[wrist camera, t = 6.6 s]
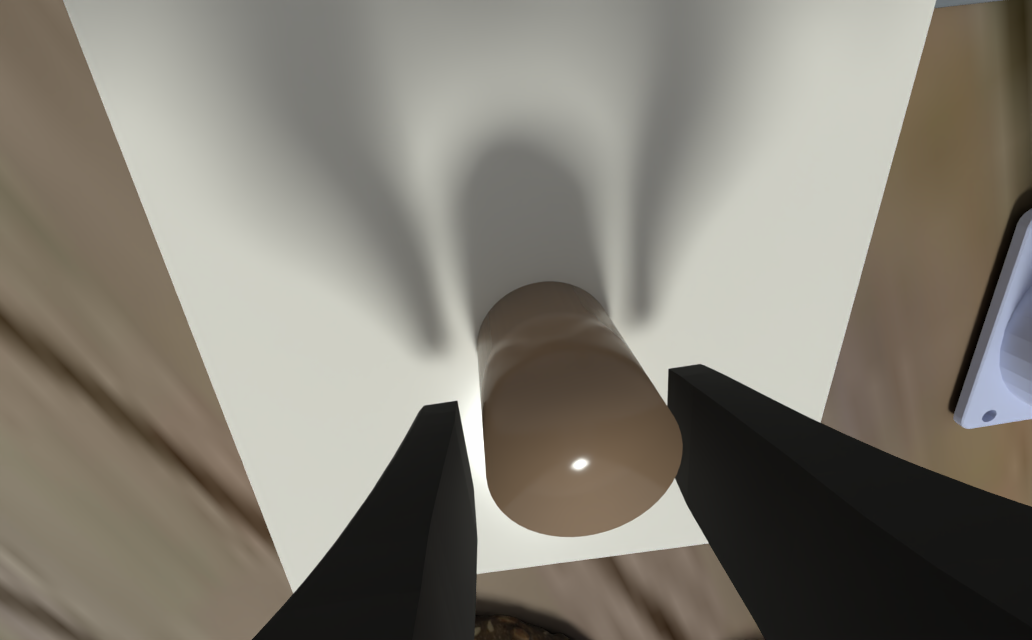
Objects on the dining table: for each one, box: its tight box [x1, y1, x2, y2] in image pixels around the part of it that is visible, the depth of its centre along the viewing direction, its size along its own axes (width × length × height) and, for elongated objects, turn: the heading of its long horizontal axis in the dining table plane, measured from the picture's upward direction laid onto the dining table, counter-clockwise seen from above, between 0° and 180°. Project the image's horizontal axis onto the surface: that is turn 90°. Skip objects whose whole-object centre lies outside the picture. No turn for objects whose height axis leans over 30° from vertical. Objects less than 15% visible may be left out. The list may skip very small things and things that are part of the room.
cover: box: [63, 0, 936, 593], centre depth 11 cm, size 14×14×7 cm
